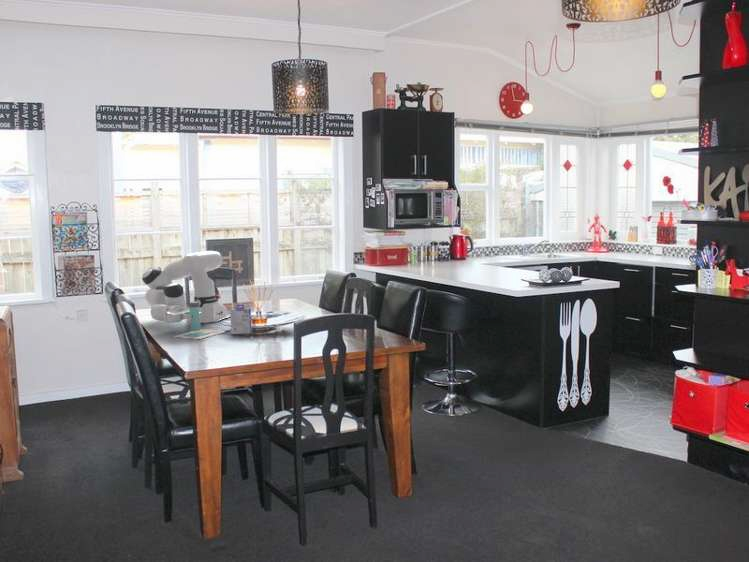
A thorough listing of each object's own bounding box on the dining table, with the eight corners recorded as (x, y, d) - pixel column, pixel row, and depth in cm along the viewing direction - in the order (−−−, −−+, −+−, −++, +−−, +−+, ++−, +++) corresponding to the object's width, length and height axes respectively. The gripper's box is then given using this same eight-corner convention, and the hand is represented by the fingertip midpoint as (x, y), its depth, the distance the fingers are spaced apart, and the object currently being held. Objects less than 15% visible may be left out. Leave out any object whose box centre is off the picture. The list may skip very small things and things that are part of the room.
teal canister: (195, 328, 371) (193, 301, 369) (203, 329, 369) (201, 302, 367) (188, 330, 367) (186, 303, 365) (196, 331, 364) (194, 303, 363)
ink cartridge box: (252, 331, 374) (250, 303, 372) (250, 333, 368) (248, 305, 366) (233, 332, 374) (231, 304, 372) (231, 334, 368) (229, 306, 366)
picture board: (200, 330, 383) (200, 328, 383) (225, 332, 374) (225, 330, 374) (174, 337, 366) (174, 336, 366) (199, 339, 358) (199, 338, 358)
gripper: (190, 316, 383) (210, 317, 376) (161, 323, 365) (182, 325, 358) (190, 304, 382) (210, 305, 375) (161, 310, 364) (181, 312, 357)
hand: (196, 315), depth 366 cm, fingers closed on teal canister, 5 cm apart
